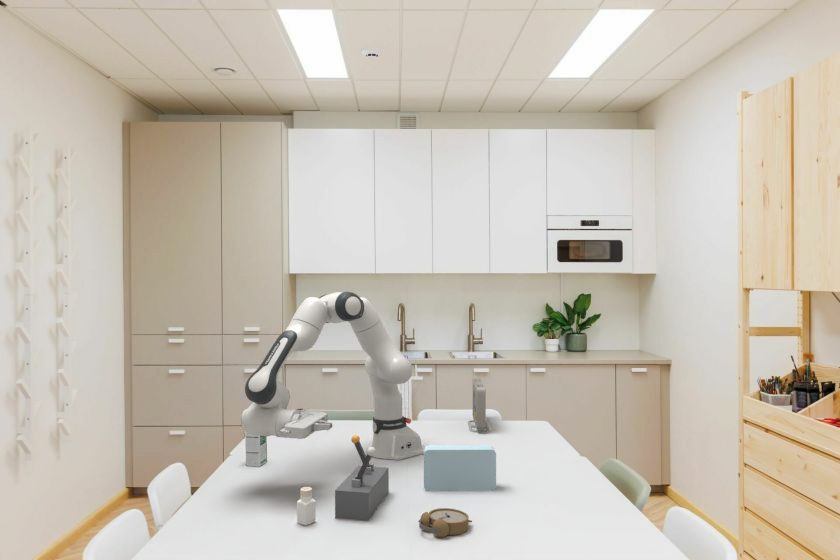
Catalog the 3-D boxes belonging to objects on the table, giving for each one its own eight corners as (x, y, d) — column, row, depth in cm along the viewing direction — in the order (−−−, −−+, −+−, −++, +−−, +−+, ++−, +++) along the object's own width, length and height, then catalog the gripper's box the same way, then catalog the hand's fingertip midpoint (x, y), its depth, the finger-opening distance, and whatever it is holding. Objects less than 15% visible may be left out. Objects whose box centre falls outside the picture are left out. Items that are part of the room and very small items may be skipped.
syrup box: (260, 467, 212) (259, 427, 212) (245, 466, 213) (244, 426, 213) (267, 462, 217) (267, 423, 217) (252, 461, 219) (252, 422, 218)
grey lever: (351, 482, 171) (367, 446, 169) (354, 479, 173) (370, 444, 172) (359, 486, 170) (375, 451, 169) (362, 483, 173) (378, 448, 172)
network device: (490, 434, 254) (490, 388, 254) (470, 434, 254) (470, 388, 254) (485, 419, 279) (485, 378, 279) (466, 419, 279) (466, 378, 279)
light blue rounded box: (493, 484, 194) (493, 444, 194) (496, 490, 188) (496, 449, 188) (423, 484, 194) (423, 444, 194) (423, 491, 188) (423, 449, 188)
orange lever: (364, 473, 181) (348, 438, 182) (366, 470, 184) (351, 435, 185) (371, 470, 181) (356, 435, 182) (373, 467, 183) (358, 432, 184)
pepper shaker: (307, 518, 167) (307, 485, 167) (316, 521, 165) (316, 488, 165) (296, 522, 164) (295, 489, 164) (305, 526, 162) (305, 492, 162)
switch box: (335, 518, 167) (334, 483, 167) (358, 490, 189) (358, 459, 189) (368, 521, 165) (368, 485, 165) (388, 492, 187) (388, 461, 187)
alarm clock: (478, 518, 161) (437, 523, 151) (475, 536, 160) (434, 542, 151) (450, 505, 169) (410, 509, 160) (448, 523, 169) (408, 527, 160)
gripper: (275, 421, 177) (318, 424, 174) (302, 407, 197) (341, 409, 194) (275, 442, 177) (318, 445, 174) (302, 425, 197) (341, 428, 194)
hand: (330, 426), depth 185 cm, fingers closed
